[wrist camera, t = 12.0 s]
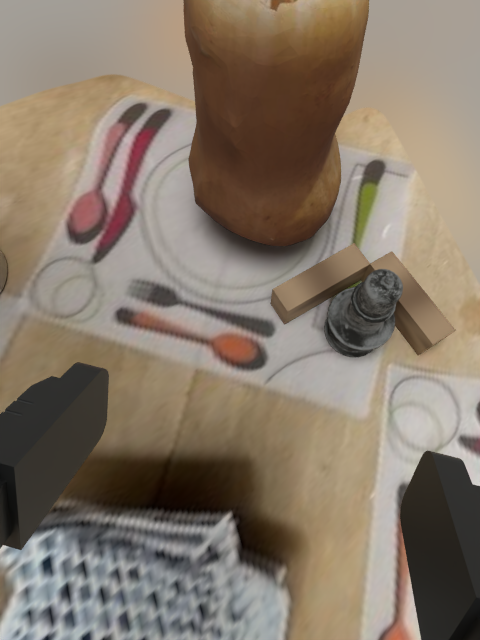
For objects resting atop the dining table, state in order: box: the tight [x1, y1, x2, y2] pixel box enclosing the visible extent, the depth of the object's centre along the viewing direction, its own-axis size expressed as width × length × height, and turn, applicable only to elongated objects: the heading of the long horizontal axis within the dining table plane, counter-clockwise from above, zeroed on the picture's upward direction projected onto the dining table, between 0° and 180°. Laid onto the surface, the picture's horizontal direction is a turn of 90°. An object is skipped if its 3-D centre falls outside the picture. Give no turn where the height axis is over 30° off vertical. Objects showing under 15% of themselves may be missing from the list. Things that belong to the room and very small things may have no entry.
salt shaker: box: [324, 269, 403, 357], centre depth 36 cm, size 6×6×12 cm
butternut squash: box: [184, 0, 369, 246], centre depth 35 cm, size 14×13×25 cm
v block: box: [271, 244, 456, 355], centre depth 41 cm, size 8×16×4 cm, turn 76°
